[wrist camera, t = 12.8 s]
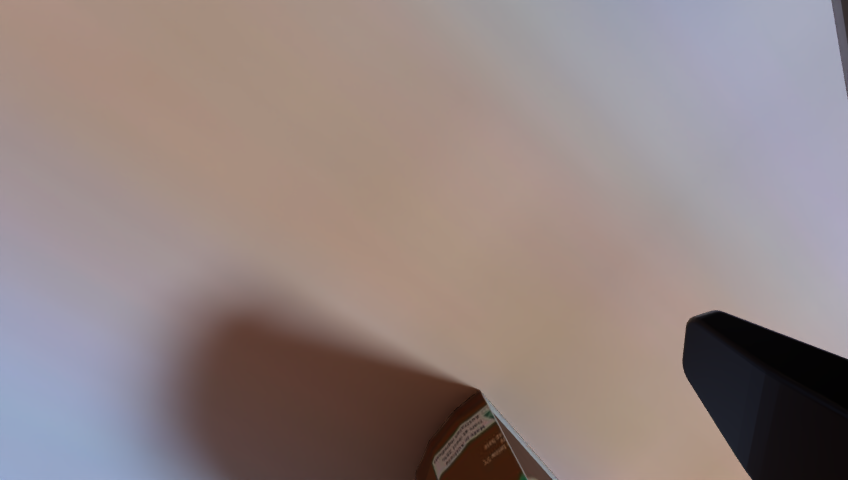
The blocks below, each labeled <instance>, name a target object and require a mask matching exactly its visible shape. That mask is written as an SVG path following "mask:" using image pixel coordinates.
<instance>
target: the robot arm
mask: <svg viewBox="0 0 848 480" xmlns="http://www.w3.org/2000/svg"><path fill="white" fill-rule="evenodd" d="M832 6H833V12H834V18H835V25H836V31H837V37H838V43H839V49H840V55H841V61H842V67H843V73H844V79H845V85H846V91H847V97H848V0H832ZM682 362H683V369H684V372H685V375H686V377H687V379H688V381H689V382H690V384H691V385H692V387H693V389H694V390H695V392H696V393H697V395H698V397H699V398H700V400H701V401H702V403H703V405H704V406H705V408H706V409H707V411H708V413H709V414H710V416H711V417H712V419H713V421H714V422H715V424H716V425H717V427H718V428H719V430H720V432H721V433H722V435H723V436H724V438H725V440H726V441H727V443H728V444H729V446H730V448H731V449H732V451H733V452H734V454H735V456H736V457H737V459H738V460H739V462H740V463H741V465H742V466H743V468H744V469H745V471H746V472H747V473H748V475H749V476H750V477H751V479H752V480H848V359H846V358H843V357H841V356H838V355H835V354H833V353H830V352H828V351H825V350H822V349H820V348H817V347H814V346H812V345H809V344H807V343H804V342H801V341H799V340H796V339H793V338H791V337H788V336H786V335H783V334H780V333H778V332H775V331H772V330H770V329H767V328H765V327H762V326H759V325H757V324H754V323H751V322H749V321H746V320H744V319H741V318H738V317H736V316H733V315H730V314H728V313H725V312H722V311H718V310H714V311H709V312H706V313H703V314H700V315H697V316H694V317H692V318H690V319H689V321H688V322H687V325H686V332H685V341H684V350H683V360H682Z"/></svg>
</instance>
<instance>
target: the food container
mask: <svg viewBox="0 0 848 480" xmlns="http://www.w3.org/2000/svg"><path fill="white" fill-rule="evenodd" d="M416 480H558V479H557V477H556V476H555V475H554V474H553V473H552V472H551V471H550V469H549V468H548V467H547V466H546V465H545V464H544V463H543V461H542V460H541V459H540V458H539V457H538V456H537V455H536V454H535V452H534V451H533V450H532V449H531V448H530V447H529V446H528V444H527V443H526V442H525V441H524V440H523V439H522V438H521V436H520V435H519V434H518V433H517V432H516V431H515V430H514V428H513V427H512V426H511V425H510V424H509V423H508V422H507V421H506V419H505V418H504V417H503V416H502V415H501V414H500V413H499V411H498V410H497V409H496V408H495V407H494V406H493V405H492V403H491V402H490V401H489V400H488V399H487V398H486V397H485V395H484V394H483V393H482V392H481V391H478V392H477V393H476V394H475V395H473V396H472V397H471V398H470V399H468V400H467V401H466V402H465V403H463V404H462V405H461V406H460V407H458V408H457V409H456V410H455V411H454V412H453V413H452V414H451V416H450V417H449V418H448V419H447V420H446V422H445V423H444V424H443V425H442V426H441V428H440V429H439V430H438V431H437V433H436V434H435V435H434V436H433V437H432V439H431V440H430V441H429V443H428V446H427V448H426V450H425V452H424V455H423V457H422V459H421V462H420V464H419V466H418V469H417V471H416Z"/></svg>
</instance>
